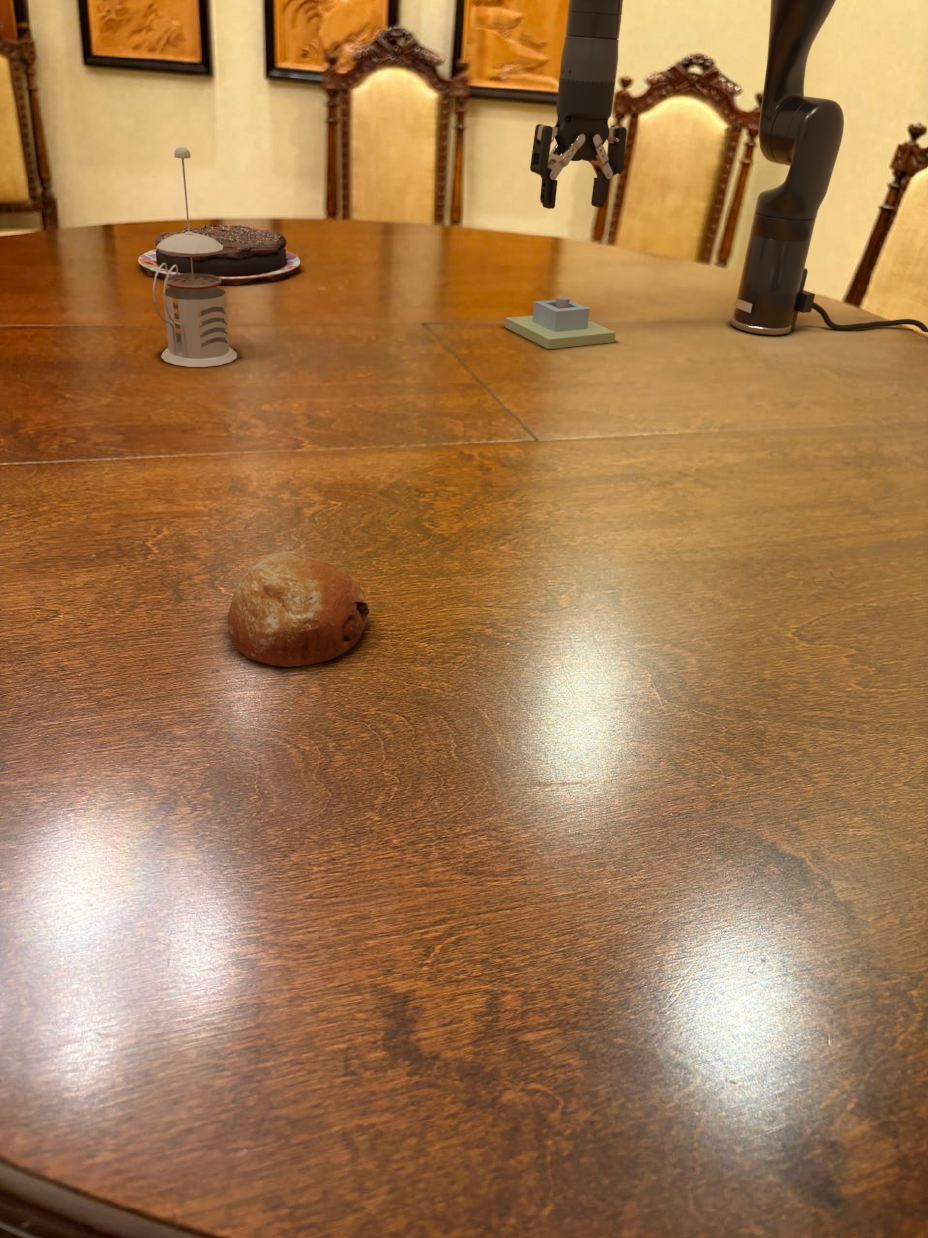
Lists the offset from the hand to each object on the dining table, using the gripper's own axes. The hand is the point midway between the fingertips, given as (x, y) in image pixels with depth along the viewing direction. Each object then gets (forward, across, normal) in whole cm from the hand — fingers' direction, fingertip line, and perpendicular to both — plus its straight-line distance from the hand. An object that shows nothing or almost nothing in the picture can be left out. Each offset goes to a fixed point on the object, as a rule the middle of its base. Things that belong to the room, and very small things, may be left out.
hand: (573, 207), depth 138 cm
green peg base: (+18, 0, 0) cm, 18 cm away
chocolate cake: (+18, -35, +55) cm, 68 cm away
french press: (+18, -54, +6) cm, 57 cm away
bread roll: (+18, -66, -62) cm, 92 cm away
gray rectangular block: (+17, 0, 0) cm, 17 cm away
